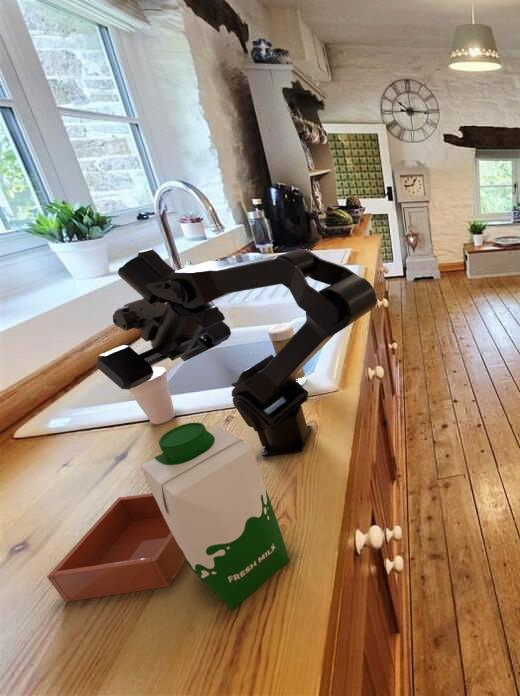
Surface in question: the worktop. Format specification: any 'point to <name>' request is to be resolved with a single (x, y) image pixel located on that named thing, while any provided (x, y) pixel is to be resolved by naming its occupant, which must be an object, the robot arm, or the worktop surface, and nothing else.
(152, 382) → the smoothie
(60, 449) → the worktop surface
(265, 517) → the milk carton
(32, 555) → the worktop surface
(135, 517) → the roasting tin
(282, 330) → the sprinkles bottle
